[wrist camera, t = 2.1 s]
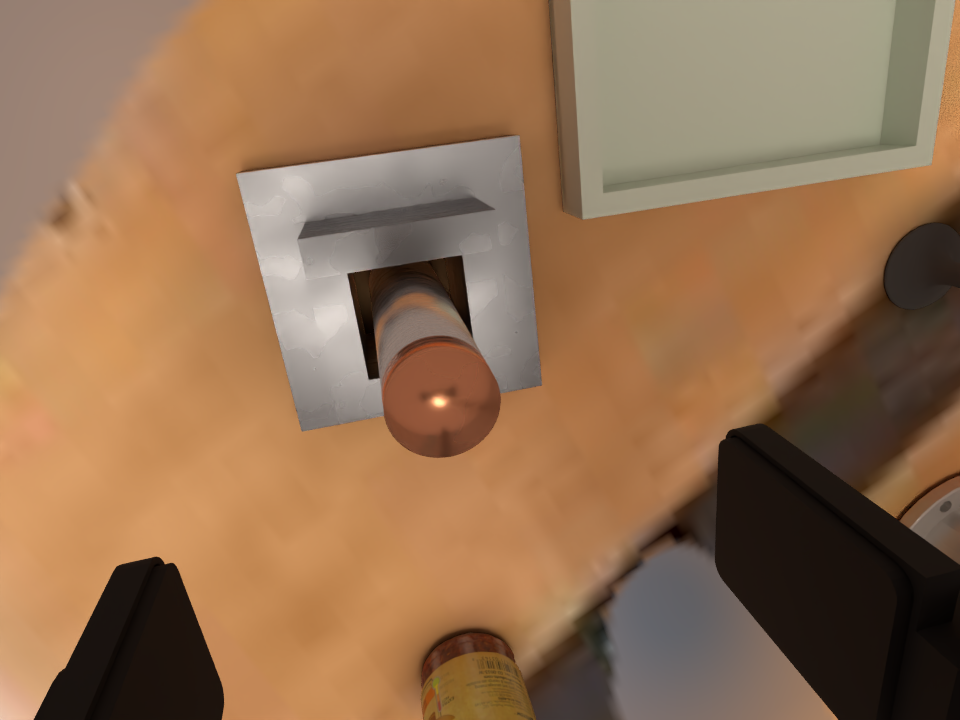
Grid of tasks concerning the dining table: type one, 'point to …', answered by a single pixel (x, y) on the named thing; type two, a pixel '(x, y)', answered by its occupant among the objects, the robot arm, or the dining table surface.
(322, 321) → the block
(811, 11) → the tray
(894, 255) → the sundae
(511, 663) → the sauce bottle
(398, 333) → the pin
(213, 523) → the dining table surface
